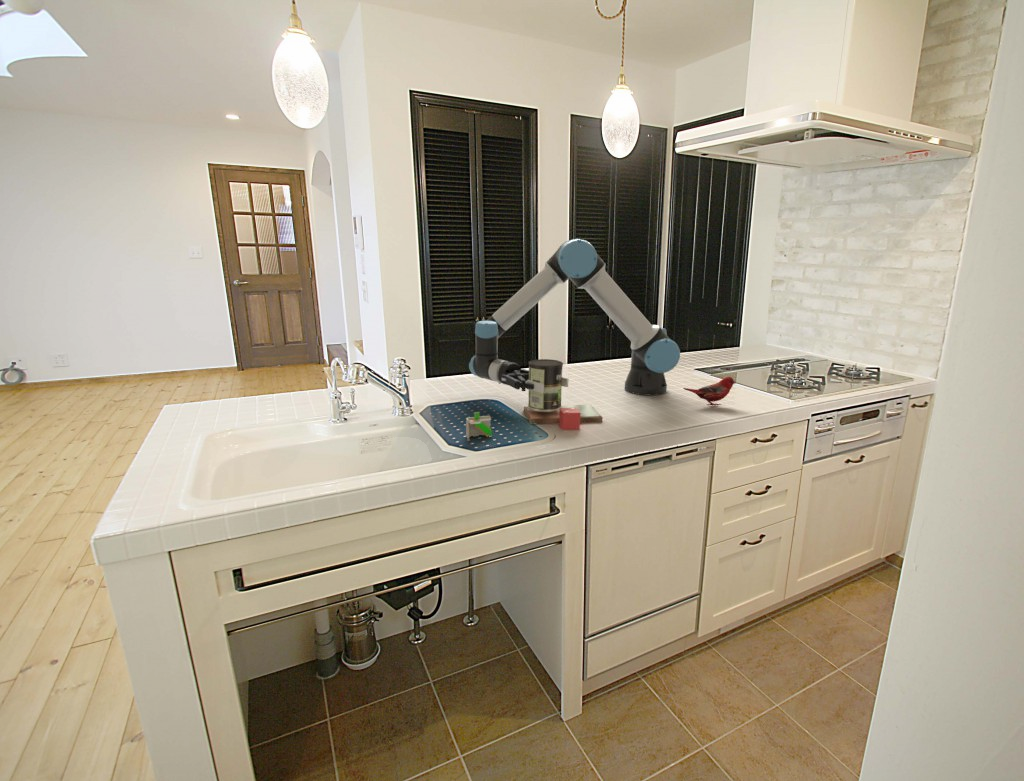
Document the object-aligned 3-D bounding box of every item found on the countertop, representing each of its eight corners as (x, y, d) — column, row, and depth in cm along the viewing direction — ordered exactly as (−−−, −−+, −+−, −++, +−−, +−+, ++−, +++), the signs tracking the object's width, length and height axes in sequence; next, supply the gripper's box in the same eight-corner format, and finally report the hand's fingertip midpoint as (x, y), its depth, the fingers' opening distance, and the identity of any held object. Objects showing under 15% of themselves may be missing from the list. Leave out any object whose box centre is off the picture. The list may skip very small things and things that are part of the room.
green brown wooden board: (590, 409, 171) (590, 404, 171) (602, 421, 159) (602, 416, 158) (523, 411, 168) (523, 406, 168) (530, 424, 156) (530, 418, 155)
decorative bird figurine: (735, 407, 175) (738, 377, 172) (682, 407, 174) (685, 378, 171) (731, 404, 178) (734, 375, 175) (679, 404, 177) (682, 375, 174)
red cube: (575, 423, 157) (576, 407, 155) (579, 429, 152) (580, 412, 151) (558, 424, 156) (559, 407, 155) (562, 429, 151) (563, 412, 150)
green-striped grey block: (494, 440, 144) (494, 412, 142) (469, 443, 142) (469, 414, 139) (490, 435, 147) (490, 408, 145) (466, 438, 145) (465, 410, 143)
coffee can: (562, 403, 166) (564, 359, 162) (559, 413, 156) (560, 366, 152) (530, 401, 168) (531, 358, 164) (524, 410, 158) (525, 364, 154)
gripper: (530, 378, 181) (579, 391, 165) (478, 389, 166) (528, 404, 150) (530, 356, 179) (580, 367, 163) (478, 366, 164) (528, 379, 148)
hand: (555, 385), depth 157 cm, fingers closed on coffee can, 10 cm apart
